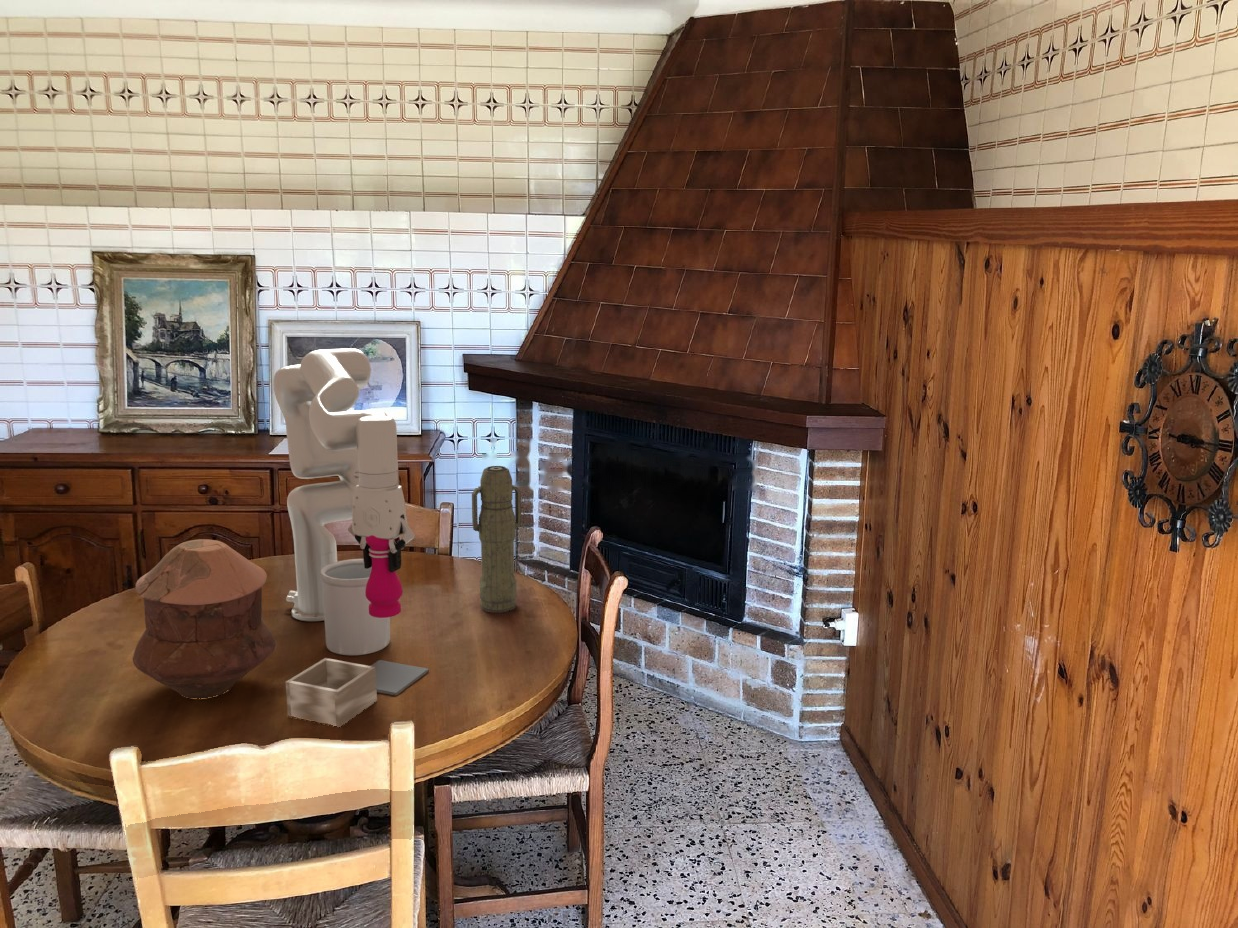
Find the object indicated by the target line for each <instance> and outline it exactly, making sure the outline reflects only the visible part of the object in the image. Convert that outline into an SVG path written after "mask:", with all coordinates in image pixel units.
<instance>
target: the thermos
mask: <svg viewBox="0 0 1238 928" xmlns="http://www.w3.org/2000/svg"><path fill="white" fill-rule="evenodd" d="M479 480H480V481H479V482H480V486H478V487H475V488H474V490H473V492H472V493H471V519H472V530H473V531H475V532H478V538H479V540H480V553H481V557H480V558H481V577H480V579H479V598H480V608H481V610H483V611H484V610H485V612H487V613H494V614H495V613H497V614H500V613H507V612H510V611H513V610H514V609H516V607H517V602H516V601H517V600H516V599H517V589H518V588H517V579H516V576H515V547H514V546H515V542H514V541H515V539H516V530H517V528H518V527H520V525H522V491H521V489H520V488H518V486H517V485H515V484H513V478H512V475H511V472H510V469H509V468H508V467H506V466H502V465H491V466H487V467H486V468H484V469H483V471H482V474H481V477H480V479H479ZM513 491H515V492H514V493H515V494H514V496H515V497H514V498H515V500H514V502H515V513H514V510H513V509H514V508H513V506H514V505H513V499H514V498H513ZM479 493H480V501H481V505H480V512H479V516H478V495H479ZM515 606H516V607H515ZM509 610H510V611H509Z"/></svg>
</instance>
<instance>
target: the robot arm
mask: <svg viewBox="0 0 1238 928" xmlns="http://www.w3.org/2000/svg"><path fill="white" fill-rule="evenodd" d="M371 370H372V369H371V364H370V361H369V358H368V357H367V355H366V354H365V353H364V352H363V351H362V350H360V349H358V348H354V347H353V348H352V347H350V348H348V347H347V348H330V349H329V348H328V349H326V348H325V349H324V348H323V349H317V350H313V351H310V352H308V353H307V354H305V355H304V357H303V358H302V359H301V362H300V364H292V365H286V366H283V367H280V368H279V369H278V370H277V371H276V372H275V373H274V376H273V383H272V385H273V393H274V396H275V399H276V402H277V404H278V406H279V409H280V411H281V413H282V416H283V418H284V423H285V430H286V440H287V450H288V459H289V466H290V470H291V472H292V474H293V476H294V477H296V478H298V479H305V480H309V479H319V478H326V477H327V478H328V477H335V476H338V477H339V480H337V481H335V480H334V481H330V482H329V481H328V482H318V483H311V484H303V485H301V486H297V487H295V488H294V489H292V490H291V491H290V492H289V493H288V496H287V500H286V503H287V504H286V505H287V511H288V516H289V518H290V520H289V521H290V524H291V529H292V537H293V550H294V563H295V565H294V566H295V578H296V590H289V591H288V593H287V596H286V597H285V600H286V602H290V603H294V606H293V607H292V609H291V616H292V618H294V619H296V620H299V621H303V622H321V621H322V622H323V621H324V605H323V584H322V579H321V569H322V568H323V567H325V566H326V565H329V564H331V563H334V562H338V552H337V541H336V538H335V537H334V535H333V534H332V533H331V532H330V530H328V529H327V528H326V527H325V525H327V524H330V523H335V522H336V523H337V522H341V521H342V522H344V521H349V520H351V521H352V523H351V524H350V525H349V527H348V529H347V531H348V532H349V533H350V534H351V535H352V536H353V537H354V539H355V540H356V541H357V543H358V545H359V548H360V549H361V550H362V555H363V558H362V559H364V568H365V569H368V568H370V567H372V558H371V556H369V552H370V551H369V548H370V546H369V545H368V544H367V542H366V537H369V536H371V535H373V536H375V537H377V538H380V539H385V540H389V546H390V550H391V552H390V553H389V554H388V559H389V571H390V572H394V571H398V570H400V569H401V568H402V550H403V549H405V548H404V547H406V546H407V545H408V543H410V542H411V541H412V540H413V539H414V538H416V535H415V533H414V532H413V530H412V529H411V528H410V526H409V524H408V517H407V509H406V508H407V507H406V501H405V500H406V499H405V497H404V492H403V487H402V485H400V484H399V483H400V482H399V463H398V462H399V461H398V460H399V459H398V436H397V432H398V431H397V422H396V420H395V418H393V417H391V416H388V414H387V413H386V412H385V411H383V410H381V409H377V408H376V409H373V408H372V409H361V410H359V409H358V410H350V409H351V408H352V407H354V405H356V402H357V401H358V399H359V395H360V393H359V391H360V390H362V389H363V388H365V386H366V385H367V384H368V382H369V381H370V378H371V373H372V372H371ZM402 535H403V537H402ZM394 539H396V542H395V540H394Z"/></svg>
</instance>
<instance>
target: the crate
mask: <svg viewBox="0 0 1238 928" xmlns="http://www.w3.org/2000/svg"><path fill="white" fill-rule="evenodd" d="M285 692H286V705H287V706H286V707H287V708H286V709H287V716H288V715H289V716H294V717H298V718H302V719H309V720H314V721H318V722H322V723H328V724H331V725H333V726H332V727H334V726H337V727H336V728H339V727H340V728H342V727H343V726H344V725H346V724H348V723H349V722H350V721H351V720H352V718H353V719H354V718H355V717H357V716H358V715H359V714H361V713H362V712H364V711H365V710H366V709H368V708H369V707H370V706H372V705H373V704H375V703H376V702H378V694H377V693H378V692H377V690H376V669H375V667H372V666H371V665H366V664H360V663H355V662H349V661H343V660H338V659H333V658H328V657H324V658H323V659H320V660H319V661H318V662H316V663H314V664H313V665H311V666H310V667H308V668H307V669H304V670H302V672H299V673H298V674H296V675H294V676H293V677H291V678H289V679H288V680H286V681H285ZM374 702H375V703H374ZM364 709H365V710H364ZM363 710H364V711H363ZM357 714H358V715H357ZM356 715H357V716H356ZM350 719H351V720H350ZM349 720H350V721H349ZM348 721H349V722H348ZM345 723H346V724H345ZM343 724H344V725H343ZM342 725H343V726H342ZM341 726H342V727H341Z"/></svg>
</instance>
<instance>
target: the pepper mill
mask: <svg viewBox="0 0 1238 928" xmlns="http://www.w3.org/2000/svg"><path fill="white" fill-rule="evenodd" d="M394 540H395V543H396V539H394ZM366 542H367V544H368V545H369V546H370V548H369V551H370V552H369V556H371V558H372V569H371V574H370V577H369V579H368V582H367V585H366V592H365V595H366V598H367V599H368V600H369V601H370V602H371V603H370V604H369V614H370V615H371V616H373V617H377V618H387V617H390V618H391V617H396V616H398V615H399V614H400V613H401V611H402V603H401V602H400V601H399V600H400V599H401V597H402V596H403V586H402V582H401V580H400V578H399V576H398V573H397V572H396V571H397V570H396V571H394V572H390V571H389V559H388V554H389V553H390V552H391V550H390V546H389V540H385V539H380V538H377V537H375V536H373V535H371V536H369V537H366Z"/></svg>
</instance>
